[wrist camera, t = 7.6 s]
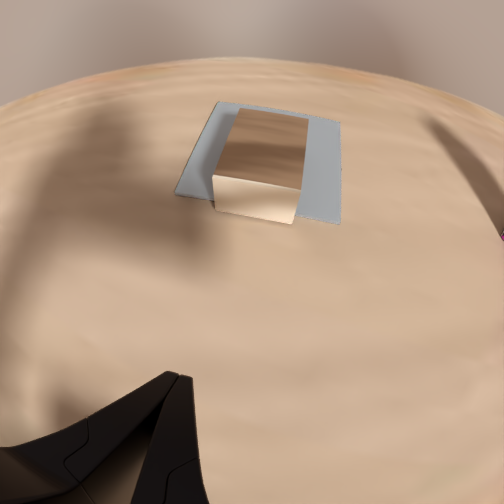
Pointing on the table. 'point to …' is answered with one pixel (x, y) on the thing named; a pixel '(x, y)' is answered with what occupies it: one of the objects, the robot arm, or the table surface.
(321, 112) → the table surface
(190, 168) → the slate board
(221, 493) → the table surface
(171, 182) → the table surface
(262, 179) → the walnut block
